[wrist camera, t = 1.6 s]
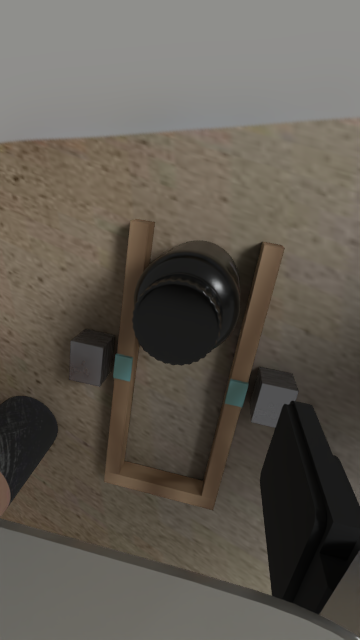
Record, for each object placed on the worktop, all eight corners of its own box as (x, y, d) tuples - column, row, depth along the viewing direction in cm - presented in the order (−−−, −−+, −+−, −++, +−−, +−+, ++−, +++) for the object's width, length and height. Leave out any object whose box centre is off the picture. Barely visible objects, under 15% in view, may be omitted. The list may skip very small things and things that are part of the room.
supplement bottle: (256, 275, 27) (272, 324, 16) (203, 330, 29) (184, 407, 18) (194, 220, 26) (165, 231, 15) (145, 281, 29) (89, 330, 18)
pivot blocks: (292, 373, 29) (298, 391, 27) (280, 409, 31) (285, 430, 28) (85, 328, 31) (70, 340, 28) (83, 364, 33) (69, 379, 30)
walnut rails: (281, 245, 26) (286, 248, 24) (214, 494, 36) (213, 512, 33) (137, 219, 27) (128, 220, 25) (110, 467, 37) (102, 483, 35)
